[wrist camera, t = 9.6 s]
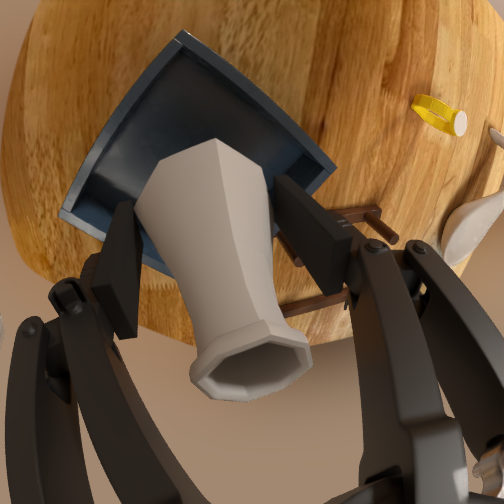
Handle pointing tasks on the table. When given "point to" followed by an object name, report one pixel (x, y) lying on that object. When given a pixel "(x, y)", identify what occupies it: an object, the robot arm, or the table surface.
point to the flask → (224, 269)
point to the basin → (186, 136)
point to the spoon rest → (471, 221)
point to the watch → (454, 117)
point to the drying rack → (353, 216)
